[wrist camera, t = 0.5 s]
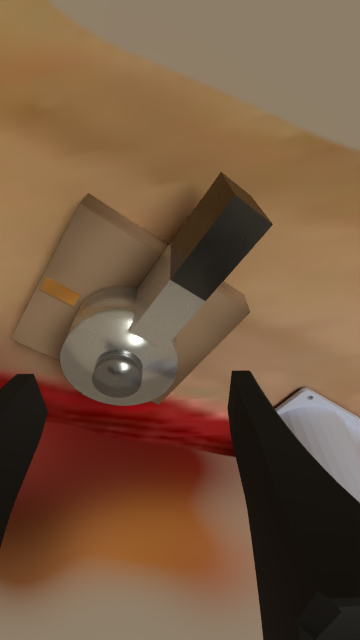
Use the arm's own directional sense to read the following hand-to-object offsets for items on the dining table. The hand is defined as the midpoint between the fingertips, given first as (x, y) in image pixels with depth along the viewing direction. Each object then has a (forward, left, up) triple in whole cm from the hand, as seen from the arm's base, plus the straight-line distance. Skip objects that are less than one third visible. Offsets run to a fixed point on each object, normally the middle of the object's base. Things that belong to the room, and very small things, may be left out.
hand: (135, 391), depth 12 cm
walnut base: (0, +3, -10) cm, 10 cm away
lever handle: (0, -1, -7) cm, 7 cm away
